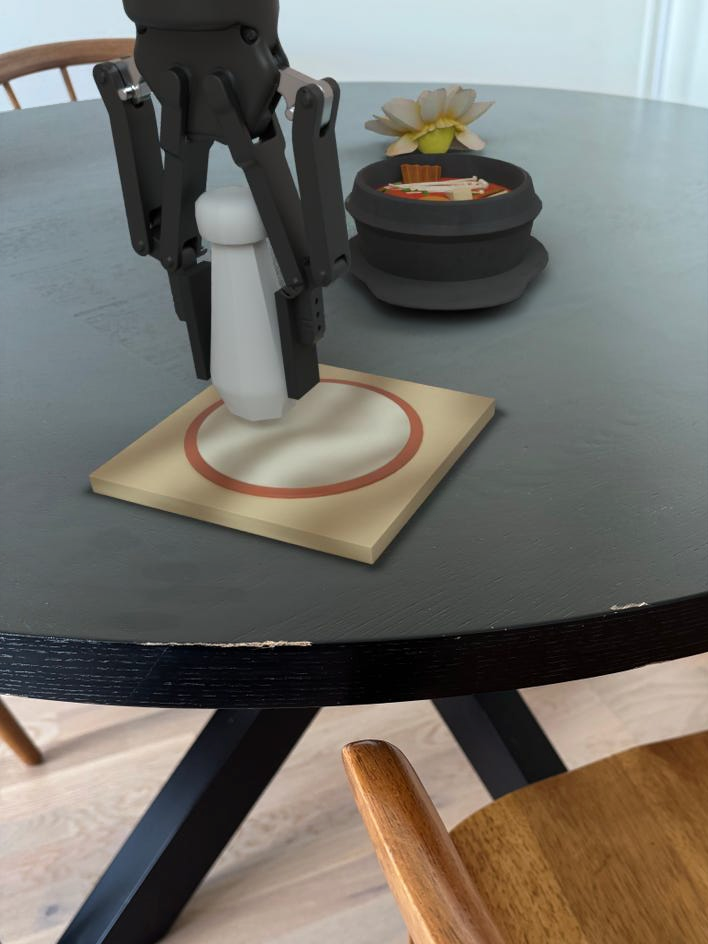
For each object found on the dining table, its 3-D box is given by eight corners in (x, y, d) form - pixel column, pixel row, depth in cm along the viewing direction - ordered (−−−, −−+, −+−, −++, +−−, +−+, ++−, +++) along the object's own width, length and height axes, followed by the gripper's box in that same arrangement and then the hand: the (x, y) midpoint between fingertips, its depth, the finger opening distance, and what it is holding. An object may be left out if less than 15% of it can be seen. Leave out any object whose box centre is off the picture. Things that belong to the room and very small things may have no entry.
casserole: (346, 229, 94) (339, 137, 89) (532, 228, 96) (536, 136, 90) (334, 334, 76) (324, 224, 70) (565, 331, 77) (573, 223, 71)
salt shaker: (200, 403, 61) (157, 189, 53) (275, 377, 64) (247, 170, 56) (248, 437, 58) (212, 215, 50) (325, 408, 61) (303, 193, 52)
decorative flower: (474, 119, 121) (476, 33, 113) (505, 164, 115) (510, 78, 107) (361, 136, 118) (354, 50, 110) (387, 185, 112) (382, 97, 104)
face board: (93, 492, 58) (86, 471, 57) (258, 366, 71) (256, 347, 70) (372, 564, 53) (371, 542, 52) (494, 414, 66) (495, 394, 65)
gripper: (405, -74, 45) (419, 382, 60) (79, -92, 50) (168, 332, 65) (329, -60, 40) (365, 436, 55) (-27, -82, 45) (97, 378, 60)
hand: (258, 379), depth 60 cm, fingers closed on salt shaker, 6 cm apart
